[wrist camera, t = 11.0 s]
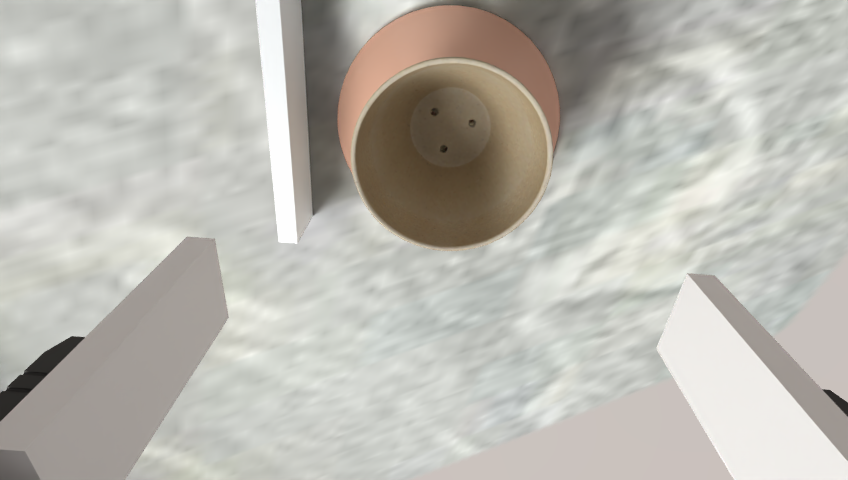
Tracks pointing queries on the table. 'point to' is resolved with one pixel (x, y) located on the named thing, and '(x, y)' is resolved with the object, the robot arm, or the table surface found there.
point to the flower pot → (451, 154)
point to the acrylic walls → (286, 113)
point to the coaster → (444, 37)
